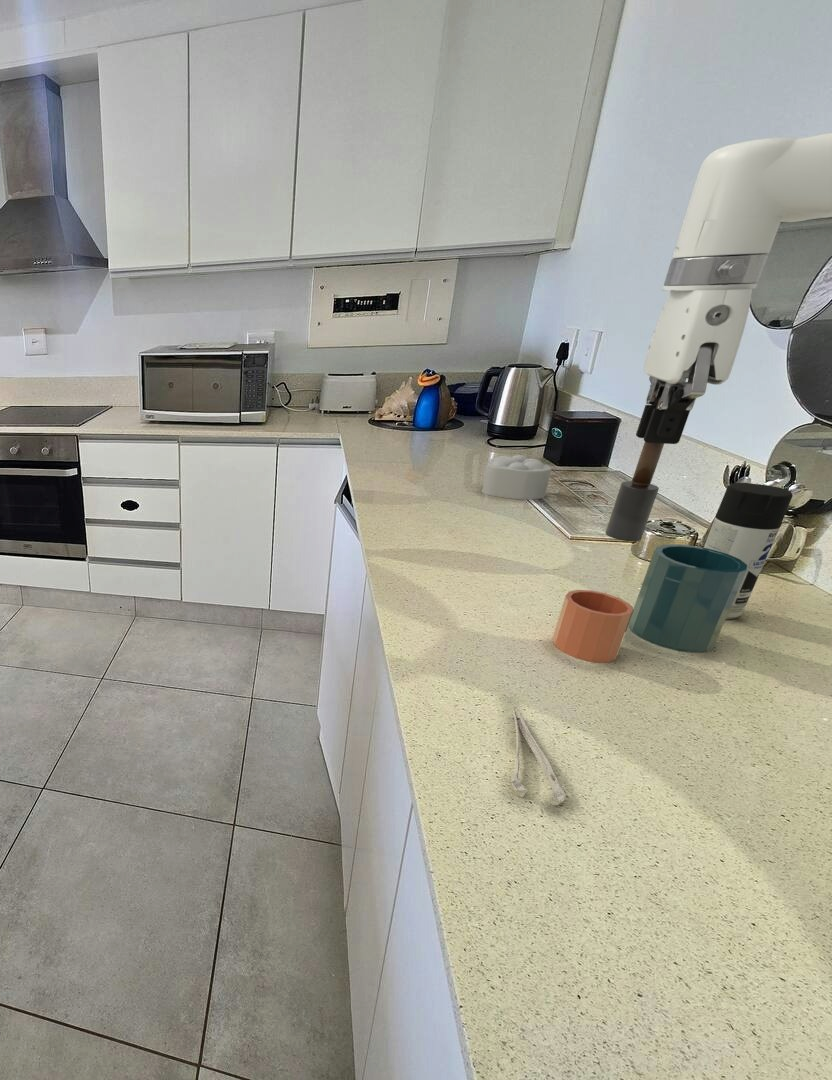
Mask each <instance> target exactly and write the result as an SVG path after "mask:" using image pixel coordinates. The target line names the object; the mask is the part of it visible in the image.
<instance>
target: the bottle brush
mask: <svg viewBox="0 0 832 1080" xmlns="http://www.w3.org/2000/svg"><path fill="white" fill-rule="evenodd" d="M660 399H661V398H660ZM660 399H659V401H658V404H657V407H656V409H658V406H659V402H660ZM664 447H665V444H662V443H647V442H645V441H644V443H643V445H642V449H641V452H640V455H639V457H638V461H637V464H636V467H635V471H634V472H633V476H632V479H631V480H627V481H623V482H621V484H620V487H619V489H618V493H617V496H616V499H615V502H614V505H613V508H612V511H611V515H610V518H609V521H608V523H607V525H606V526H607V527H606V530H605V535H606V536H608V537H609V538H611V539H615V540H619V541H624V542H640V541H641V540H642V538H643V535H644V532H645V529H646V527H647V524H648V521H649V518H650V515H651V513H652V510H653V507H654V504H655V501H656V498H657V496H658V493H659V489H660V488H659V486H657V485H655V484H652V480H653V477H654V475H655V472H656V469H657V466H658V463H659V461H660V457H661V456H662V455H661V454H662V452H663V449H664Z"/></svg>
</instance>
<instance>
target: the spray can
mask: <svg viewBox="0 0 832 1080" xmlns="http://www.w3.org/2000/svg"><path fill="white" fill-rule="evenodd" d="M793 495H794V494H793V493H792V492H791V491H790V490H787V489H785V488H782V487H779V486H772V485H766V484H760V483H751V482H734V483H730V484H729V485H727V487H726V489H725V492H724V494H723V497H722V499H721V501H720V504H719V506H718V508H717V511H716V513H715V517H714V520H713V521H712V524H711V527H710V530H709V531H708V535H707V538H706V540H705V543H704V546H703V548H708V549H712V550H715V551H719V552H722V553H726V554H729V555H731V556H734V557H736V558H738V559H740V560H742V561H743V562H744V563H745V564H747V571H746V574H745V576H744V578H743V580H742V583H741V585H740V587H739V590H738V592H737V594H736V597H735V599H734V601H733V603H732V606H731V608H730V610H729V613H728V615H727V617H726V620H734V619H738V618H739V617H741V615H743V613H744V611H745V608H746V606H747V604H748V601H749V600H750V597H751V595H752V593H753V590H754V588H755V585H756V584H757V581H758V578H759V576H760V574H761V572H762V570H763V567H764V565H765V563H766V561H767V558H768V556H769V553H770V551H771V549H772V546H773V545H774V542H775V540H776V537H777V535H778V533H779V532H780V531H779V530H780V528H781V527H782V524H783V521H784V519H785V517H786V514H787V512H788V509H789V506H790V504H791V502H792V499H793Z"/></svg>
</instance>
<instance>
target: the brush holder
mask: <svg viewBox="0 0 832 1080" xmlns="http://www.w3.org/2000/svg"><path fill="white" fill-rule="evenodd" d="M633 611H634V607H633V606H632V605H631V604H630V602H627V601H625V600H624V599H622V598H620V597H617V596H616V595H612V594H609V593H605V592H601V591H596V590H589V589H575V590H570V591H568V592H567V593H566V594H565V596H564V598H563V602H562V606H561V609H560V613H559V614H558V615H559V616H558V618H557V622H556V626H555V630H554V632H553V635H552V639H551V640H552V643H553V645H554V646H555V648H557V649H558V650H559V651H560V652H562V653H564V654H566V655H568V656H570V657H573V658H575V659H577V660H581V661H585V662H591V663H596V664H597V663H598V664H603V663H605V664H606V663H611V662H613V661H615V660H616V659H617V657H618V655H619V653H620V650H621V647H622V644H623V641H624V639H625V636H626V634H627V633H626V632H627V630H628V629H629V627H628V625H629V622H630V619H631V616H632V614H633Z"/></svg>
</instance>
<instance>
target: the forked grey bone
mask: <svg viewBox="0 0 832 1080" xmlns="http://www.w3.org/2000/svg"><path fill="white" fill-rule="evenodd" d="M512 713H513V720H514V721H513V722H514V729H515V754H516V755H515V769H514V772H513V774H512V775H511V777H510V783H511V787H512V789H513V791H514V792H515V794H516V796H518V797H520V798H524V797H525V795H526V793H528V792H529V790H528V789H527V788H525V786H524V785H523V783H522V782H521V780H520V779H519V773H520V766H521V765H520V764H521V763H520V762H521V761H520V732H521V734H522V736H523V738H524V740H525V741H526V743H527V745H528V747H529V748H530V749H531V751H532V753H533V755H534V756H535V758H536V760H537V761H538V763H539V765H540V768H541V769H542V772H543V775H544V777H545V778H546V779H547V781H548V784H549V785H550V788H551V789H552V792H551V795H549V798H550V804H551V805H552V806H559V805H561V803H564V801H565V800H566V797H567V794H566V792H565V789H564V787H562V785H561V784H560V781H559V780H558V778H557V776H556V775H555V772H554V769H553V767H552V765H551V763H550V761H549V759H548V758H547V757H546V754H545V753H544V752H543V750H542V749H541V747H540V746H539V744H538V742H537V741H536V740H535V738H534V737H533V734H532V733H531V731H530V729H529V728H528V726H527V723H526V722H525V720H524V718H523V717H522V714H521V713H520V711H519V709H518V708H517V714H518V716H519V717H517V714H516V711H515V706H512ZM552 776H553V778H554V779H553V778H552Z"/></svg>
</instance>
